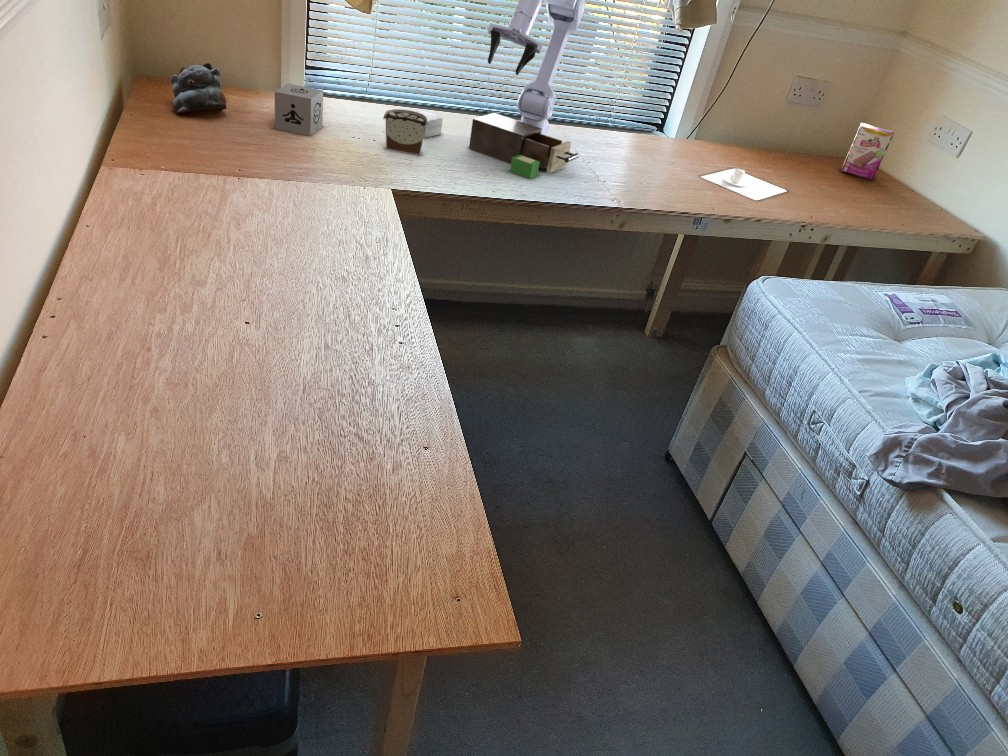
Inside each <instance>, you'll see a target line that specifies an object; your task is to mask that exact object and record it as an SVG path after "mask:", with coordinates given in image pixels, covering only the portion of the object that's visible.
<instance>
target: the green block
mask: <svg viewBox="0 0 1008 756" xmlns="http://www.w3.org/2000/svg"><path fill="white" fill-rule="evenodd" d="M539 165H540V161H537V160H534V159H531V158H528V157H525V156H522V155H518V156H515V157H513V158H512V161H511V163H510V167H509V173H511V174H515V175H518V176H521V177H523V178H526V179H529V180H531V179H534V178H535V177H538V175H539V170H540V167H539Z"/></svg>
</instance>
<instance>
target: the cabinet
mask: <svg viewBox="0 0 1008 756" xmlns="http://www.w3.org/2000/svg"><path fill="white" fill-rule="evenodd" d="M470 130H471V131H470V137H469V145H468V149H470V150H473V151H475V152H478V153H480V154H484V155H487V156H490V157H492V158H495V159H498V160H501V161H504V162H507V163H509V164H511V161H512V158H513V157H515V156H518V155H521V149H522V143H523V138H524V137H527V136H530V135H532V134H535V133H540V134H541V131H542V128H539V127H536V126H533V125H530V124H527V123H524V122H521V120H517V119H514V118H512V117H508V116H505V115H502V114H499V113H496V112H491V113H488V114H485V115H481V116H478V117H477V116H476V117H474V118H472V121H471V129H470Z"/></svg>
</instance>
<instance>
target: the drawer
mask: <svg viewBox="0 0 1008 756" xmlns="http://www.w3.org/2000/svg"><path fill="white" fill-rule="evenodd" d="M571 146H572V142H571V141H568V140H567V141H565V142H563V140H561V139H558V138H556V137H552V136H549V135H547V136H546V135H543V134H540V133H535V134H532V135H530V136H527V137H524V138H523V143H522V149H521V155H522V156H525V157H528V158H531V159H534V160H537V161H540V165H539V168H541V169H546V173H549V174H551V173H553V172H555V171H557V170H560V169H562V168H564V167H567V165H568V163H570V162H573V161H575V160H576V159H579V157H580V155H579V153H578V152H575V153H572V152H570V151H571Z"/></svg>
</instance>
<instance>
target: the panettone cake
mask: <svg viewBox="0 0 1008 756" xmlns="http://www.w3.org/2000/svg"><path fill="white" fill-rule="evenodd" d="M382 120H385V149H386V150H388V151H394V152H399V153H404V154H410V155H414V156H420V155H421V151H422V148H423V143H424V139H425V138H424V133H425V128H426V124H427V128H428V120H427V117H426V116H424V115H423V114H420V113H418V111H414V110H411V109H410V110H409V109H402V108H401V109H400V108H395V109H389V110H386V111H385V113H384V115H383V118H382Z"/></svg>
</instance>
